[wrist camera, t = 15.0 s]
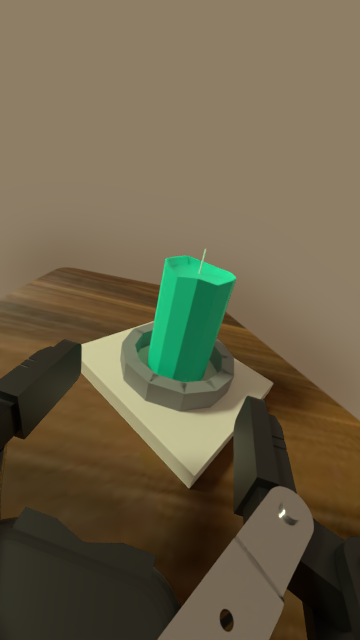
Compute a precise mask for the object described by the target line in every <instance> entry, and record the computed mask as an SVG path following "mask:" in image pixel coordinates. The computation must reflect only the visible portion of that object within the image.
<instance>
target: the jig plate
mask: <svg viewBox="0 0 360 640" xmlns="http://www.w3.org/2000/svg"><path fill="white" fill-rule="evenodd" d="M153 326H154V321H153V322H150V323H147V324H144V325H141V326H138V327H135V328H132V329H129V330H125V331H122V332H119V333H116V334H113V335H110V336H107V337H104V338H101V339H98V340H95V341H91V342H88V343H85V344H82V345H81V346H82V364H81V373H82V374H83V375H84V376H85V377H86V378H87V379H88V380H89V381H90V382H91V384H92V385H93V386H94V387H95V388H96V389H97V390H98V391H99V392H100V393H101V394H102V395H103V397H104V398H105V399H106V400H107V401H108V402H109V403H110V404H111V405H112V406H113V407H114V408H115V409H116V411H117V412H118V413H119V414H120V415H121V416H122V417H123V418H124V419H125V420H126V421H127V422H128V424H129V425H130V426H131V427H132V428H133V429H134V430H135V431H136V432H137V433H138V434H139V435H140V436H141V438H142V439H143V440H144V441H145V442H146V443H147V444H148V445H149V446H150V447H151V448H152V449H153V451H154V452H155V453H156V454H157V455H158V456H159V457H160V458H161V459H162V460H163V461H164V462H165V463H166V465H167V466H168V467H169V468H170V469H171V470H172V471H173V472H174V473H175V474H176V475H177V476H178V478H179V479H180V480H181V481H182V482H183V483H184V484H185V485H186V486H187V487H188V488H189V489H190V487H191V486H192V485H193V484H194V483H195V481H196V480H197V479H198V478H199V477H200V475H201V474H202V473H203V472H204V471H205V469H206V468H207V467H208V466H209V464H210V463H211V462H212V461H213V460H214V458H215V457H216V456H217V455H218V454H219V452H220V451H221V450H222V449H223V448H224V446H225V445H226V444H227V443H228V441H229V440H230V439H231V438H232V437H233V431H234V424H235V420H236V418H237V415H238V413H239V411H240V409H241V407H242V405H243V403H244V401H245V398H246V397H247V396H252V397H255V398H258V399H262V400H263V399H264V398H265V397H266V395H267V394H268V393H269V391H270V389H271V387H272V385H273V382H271V381H270V380H268V379H267V378H265V377H263V376H262V375H260V374H259V373H257V372H255V371H254V370H252V369H250V368H249V367H247V366H246V365H244V364H242V363H241V362H239V361H238V360H236V359H234V357H233V356H232V355H231V354H230V352H229V351H228V350H227V349H226V347H225V346H224V345H223V343H222V342H221V341H219V340H218V339H216V341H215V344H214V347H213V350H212V353H211V356H210V359H209V362H208V365H207V368H206V371H205V374H204V376H203V378H202V380H201V381H195V382H180V381H177V380H174V379H170V378H167V377H164V376H160V375H157V374H156V373H155V372H153V371H152V370H151V369H150V368H149V367H147V359H148V353H149V348H150V342H151V337H152V331H153Z"/></svg>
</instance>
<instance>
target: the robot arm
mask: <svg viewBox="0 0 360 640" xmlns="http://www.w3.org/2000/svg"><path fill="white" fill-rule="evenodd" d="M81 364H82V346H81V344H79V343H76V342H72V341H69V340H66V339H65V340H62V341H61V342H60V343H58V344H57V345H56V346H54V347H51V346H50V347H47V348H44V349H42V350H39V351H37V352H36V353H35V354H33V355H32V356H31V357H29V359H28V360H25V361H24V362H23V363H21V365H19V366H17V367H16V368H14V369H13V370H12V371H10V372H9V373H8V374H6V375H5V376H4V377H2V378H1V379H0V640H269V638H270V636H271V634H272V632H273V630H274V628H275V625H276V623H277V621H278V619H279V617H280V614H281V612H282V609H283V606H284V599H283V595H284V592H285V590H286V588H287V589H288V590H289V591H290V592H292V593H293V594H294V595H295V596H297V597H298V598H299V599H300V600H301V601H302V603H303V610H304V617H305V624H306V632H307V639H308V640H360V537H357V536H352V537H349V538H348V539H346V540H345V541H344V540H343V539H341V538H340V537H338V536H337V535H336V534H334V533H333V532H331V531H330V530H328V529H327V528H325V527H324V526H322V525H321V524H320V523H318V522H317V521H316V520H315V519H314V518H313V517H312V515H311V513H310V510H309V508H308V507H307V505H306V504H305V502H304V501H303V500H302V499H301V498H300V497H299V496H298V495H297V492H296V489H295V484H294V480H293V475H292V471H291V466H290V462H289V457H288V453H287V451H286V444H285V441H284V435H283V431H282V427H281V425H280V424H279V422H278V421H277V419H276V417H275V416H273V415H270V414H268V412H267V406H266V402H265V400H262V399H258V398H255V397H252V396H247V397H246V398H245V401H244V403H243V405H242V407H241V409H240V411H239V413H238V415H237V418H236V420H235V424H234V431H233V445H234V514H237V515H240V516H243V524H244V526H243V527H242V529H241V530H240V531H239V533H238V534H237V535H236V537H235V538H234V539H233V540H232V541H231V543H230V544H229V545H228V547H227V548H226V549H225V551H224V552H223V553H222V555H221V556H220V557H219V559H218V560H217V561H216V562H215V564H214V565H213V566H212V568H211V569H210V570H209V572H208V573H207V574H206V576H205V577H204V578H203V580H202V581H201V582H200V584H199V585H198V586H197V588H196V589H195V590H194V592H193V593H192V594H191V596H190V597H189V598H188V600H187V601H186V602H185V604H184V605H183V606H182V607H181V604H180V602H179V599H178V597H177V596H176V594H175V592H174V590H173V588H172V587H171V585H170V584H169V582H168V581H167V579H166V578H165V577H164V576H163V575H162V574H161V573H160V571H158V570H157V569H156V568H155V567H154V562H155V558H156V555H154V554H151V553H148V552H145V551H143V550H140V549H137V548H135V547H132V546H129V545H127V544H124V543H87V542H83V541H82V540H80V539H79V538H78V537H77V536H76V535H75V534H74V533H72V532H71V531H70V530H69V529H68V528H67V527H66V526H65V525H63V524H62V523H61V522H60V521H59V520H58V519H57V518H54V517H51V516H49V515H46V514H43V513H41V512H38V511H35V510H33V509H30V508H27V507H25V509H24V510H23V512H22V513H21V515H20V516H19V517H15V518H7V519H2V520H1V489H2V482H3V475H4V468H5V460H6V453H7V443H8V441H9V440H10V439H11V438H12V437H13V436H15V437H18V438H21V439H25V438H26V437H27V436H28V435H29V434H30V432H31V431H32V430H33V429H34V428H35V427H36V426H37V425H38V424H39V422H40V421H41V420H42V419H43V418H44V417H45V416H46V415H47V413H48V412H49V411H50V410H51V409H52V408H53V407H54V406H55V405H56V403H57V402H58V401H59V400H60V399H61V398H62V397H63V396H64V394H65V393H66V392H67V391H68V390H69V389H70V388H71V387H72V385H73V384H74V383H75V382H76V381H77V379H78V378H79V376H80V373H81Z"/></svg>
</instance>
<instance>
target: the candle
mask: <svg viewBox="0 0 360 640" xmlns="http://www.w3.org/2000/svg"><path fill="white" fill-rule="evenodd" d="M205 254H206V249H205V250H204V254H203V258H202V261H201V260H198V259H195V258H193V257H190V256H177V257H170V258H166V259H165V265H164V270H163V276H162V281H161V287H160V292H159V298H158V303H157V309H156V314H155V320H154V326H153V331H152V337H151V342H150V348H149V353H148V359H147V367H149V368H150V369H151V370H152V371H153V372H155V373H156V374H157V375H160V376H164V377H167V378H170V379H174V380H177V381H180V382H195V381H201V380H202V378H203V376H204V374H205V371H206V368H207V365H208V362H209V359H210V356H211V353H212V350H213V347H214V344H215V341H216V338H217V335H218V332H219V329H220V326H221V323H222V320H223V317H224V314H225V311H226V308H227V305H228V302H229V299H230V296H231V293H232V290H233V287H234V283H235V281H236V277H235V276H234V275H233V274H232V273H231V272H228V271H226V270H223V269H220V268H217V267H215V266H213V265H210V264H208V263H206V262H204V258H205Z"/></svg>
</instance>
